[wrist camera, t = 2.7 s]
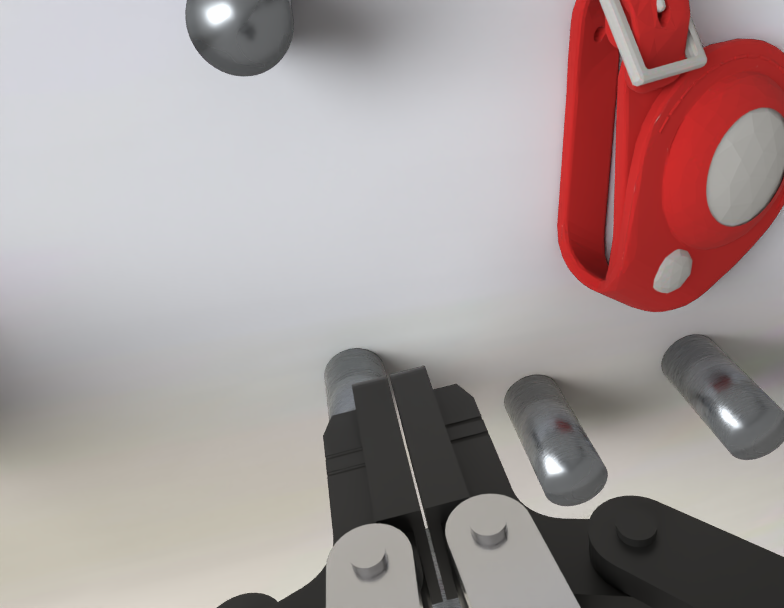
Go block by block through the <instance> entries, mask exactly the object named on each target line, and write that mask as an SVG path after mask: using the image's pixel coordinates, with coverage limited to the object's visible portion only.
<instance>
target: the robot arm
mask: <svg viewBox="0 0 784 608" xmlns="http://www.w3.org/2000/svg"><path fill="white" fill-rule="evenodd" d="M390 378H391V383H392V387H393V391H394V395H395V399H396V403H397V407H398V411H399V415H400V419H401V423H402V427H403V431H404V436H405V440H406V444H407V448H408V451H409V455H410V459H411V463H412V467H413V471H414V475H415V479H416V483H417V486H418V490H419V494H420V498H421V502H422V506H423V510H424V514H425V517H426V521H427V525H428V529H429V533H430V537H431V541H432V545H433V548H434V552H435V556H436V560H437V564H438V568H439V572H440V575H441V579H442V583H443V587H444V591H445V595H446V599H447V600H450V599H454V598H459V602H460V605H461V608H784V557H782V556H780V555H778V554H776V553H773V552H771V551H769V550H767V549H764V548H762V547H760V546H757V545H755V544H753V543H751V542H748V541H746V540H744V539H742V538H739V537H737V536H735V535H732V534H730V533H728V532H726V531H723V530H721V529H719V528H717V527H714V526H712V525H710V524H707V523H705V522H703V521H701V520H698V519H696V518H694V517H692V516H689V515H687V514H685V513H682V512H680V511H678V510H676V509H673V508H671V507H669V506H667V505H664V504H662V503H660V502H658V501H655V500H652V499H649V498H645V497H641V496H621V497H616V498H613V499H610V500H608V501H606V502H604V503H602V504H601V505H600V506H598V507H597V508H596V510H595V511H594V512H593V513H592V515H591V517H590V519H562V518H553V517H548V516H545V515H542V514H539V513H537V512H535V511H533V510H531V509H529V508H528V507H526V506H525V505H524V504H523V503H522V502H520V500H519V499H518V498H517V497H516V495H515V494H514V492H513V490H512V487H511V485H510V483H509V480H508V478H507V476H506V473H505V471H504V469H503V466H502V464H501V461H500V459H499V457H498V454H497V452H496V450H495V447H494V445H493V443H492V440H491V438H490V435H489V434H488V431H487V428H486V426H485V424H484V421H483V420H482V417H481V414H480V412H479V409H478V407H477V405H476V402H475V400H474V398H473V397H472V396H471V395H470V394H469V393H467V392H466V391H465V390H464V389H462V388H461V387H460V386H458V385H457V384H454V385H450V386H446V387H442V388H438V389H434V390H433V389H432V386H431V383H430V380H429V377H428V374H427V371H426V369H425V366H421V367H417V368H413V369H409V370H405V371H401V372H397V373H393V374H390ZM352 390H353V396H354V402H355V408H356V410H352V411H348V412H345V413H341V414H337V415H333V416H331V419H330V421H329V423H328V426H327V428H326V431H325V433H324V435H323V439H324V449H325V457H326V469H327V475H328V477H327V479H328V488H329V498H330V508H331V518H332V528H333V548H332V549H331V551H330V553H329V556H328V559H327V564H326V565H325V567H324V568H323V570H322V571H321V572H320V573H319V574H318V576H317V577H316V578H314V579H313V580H312V581H311V582H310V583H309V584H307V585H306V586H304V587H303V588H301V589H299V590H298V591H296V592H294V593H293V594H291V595H289V596H288V597H286V598H284V599H283V600H281V601H279V602H277V601H276V600H275V599H274V598H272V597H270V596H268V595H265V594H261V593H247V594H242V595H239V596H236V597H233V598H231V599H229V600H227V601H226V602H224V603H223V604H221V605H220V606H218V607H217V608H433V606H432V605H433V604H436V603H440V602H443V599H442V595H441V591H440V587H439V583H438V578H437V574H436V570H435V566H434V562H433V558H432V554H431V550H430V546H429V542H428V538H427V534H426V530H425V526H424V522H423V518H422V514H421V510H420V506H419V502H418V498H417V494H416V490H415V486H414V482H413V478H412V474H411V470H410V466H409V462H408V458H407V455H406V451H405V447H404V443H403V439H402V435H401V431H400V427H399V423H398V419H397V415H396V411H395V407H394V403H393V399H392V395H391V391H390V387H389V383H388V379H387V376H382V377H378V378H374V379H370V380H367V381H363V382H359V383H355V384H352Z"/></svg>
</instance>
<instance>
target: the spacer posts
mask: <svg viewBox="0 0 784 608" xmlns="http://www.w3.org/2000/svg"><path fill="white" fill-rule="evenodd" d="M185 14H186V25H187V30H188V33H189V36H190V39H191V41H192V43H193V45H194V46H195V48H196V50H197V51H198V52H199V54H200V55H201V56H202V57H203V58H204V59H205V60H206V61H207V62H208V63H209V64H211V65H212V66H213V67H215V68H217V69H218V70H220V71H222V72H225V73H228V74H231V75H235V76H253V75H258V74H261V73H263V72H265V71H268V70H269V69H271V68H272V67H274V66H275V65H276V64H277V63H278V62H279V61H280V60H281V59H282V58H283V56H284V55H285V53H286V52H287V50H288V48H289V46H290V43H291V40H292V35H293V14H292V7H291V1H290V0H187V3H186V11H185ZM662 371H663V373H664V374H665V376H666V377H667V378H668V379H669V381H670V382H671V383H672V384H673V385H674V386H675V388H676V389H677V390H678V391H679V392H680V394H681V395H682V396H683V397H684V398H685V400H686V401H687V402H688V403H689V404H690V405H691V407H692V408H693V409H694V410H695V411H696V413H697V414H698V415H699V416H700V417H701V419H702V420H703V421H704V422H705V423H706V424H707V426H708V427H709V428H710V429H711V430H712V432H713V433H714V434H715V435H716V436H717V437H718V439H719V440H720V441H721V442H722V443H723V445H724V446H725V447H726V448H727V449H728V451H729V452H730V453H731V454H732V455H733V456H734V457H736V458H738V459H743V460H751V459H757V458H760V457H763V456H765V455H767V454H769V453H771V452H772V451H774V450H775V449H776V448H778V447H779V446H780V445H781V444H782V443H783V442H784V411H783V410H782V409H781V408H780V407H779V406H778V405H777V404H776V403H775V402H774V401H773V400H772V399H771V398H770V397H769V396H768V395H767V394H766V393H765V392H764V391H763V390H762V389H760V388H759V387H758V386H757V385H756V384H755V383H754V382H753V381H752V380H751V379H750V378H749V377H748V376H747V375H746V374H745V373H744V372H743V371H742V370H741V369H740V368H739V367H738V366H737V365H736V364H735V363H734V362H733V361H732V360H731V359H730V358H729V357H728V356H727V355H726V354H725V353H724V352H723V351H722V350H721V349H720V348H719V347H718V346H717V345H716V344H715V343H714V342H713V341H712V340H710V339H709V338H708V337H706V336H703V335H690V336H687V337H684V338H682V339H680V340H678V341H677V342H675V343H674V344H673V345H672V346H671V347H670V348H669V349H668V350H667V351H666V353H665V355H664V357H663V359H662ZM382 376H386V373H385V369H384V365H383V363H382V361H381V359H380V358H379V357H378V356H377V355H376V354H374V353H372V352H370V351H368V350H364V349H349V350H345V351H343V352H340V353H339V354H337V355H336V356H334V357H333V358H332V359H331V360H330V361H329V363H328V364H327V366H326V369H325V386H326V396H327V405H328V415H329V421H330V419H331V416H333V415H337V414H341V413H345V412H348V411H352V410H356V408H355V402H354V396H353V390H352V384H355V383H359V382H363V381H367V380H370V379H374V378H378V377H382ZM504 405H505V408H506V411H507V413H508V415H509V417H510V419H511V421H512V424H513V426H514V428H515V430H516V432H517V434H518V437H519V439H520V441H521V443H522V445H523V447H524V450H525V452H526V454H527V456H528V458H529V460H530V463H531V465H532V467H533V469H534V471H535V473H536V476H537V478H538V480H539V482H540V484H541V486H542V489H543V491H544V493H545V495H546V497H547V498H548V499H549V500H550V501H551V502H552V503H554V504H557V505H561V506H574V505H578V504H581V503H584V502H586V501H588V500H590V499H592V498H593V497H595V496H596V495H597V494H598V493H599V492H600V491H601V490H602V489H603V487H604V485H605V484H606V481H607V477H608V473H607V469H606V467H605V465H604V464H603V462H602V460H601V458H600V457H599V455H598V453H597V452H596V450H595V448H594V447H593V445H592V443H591V442H590V440H589V438H588V437H587V435H586V433H585V432H584V430H583V428H582V427H581V425H580V423H579V421H578V420H577V418H576V416H575V415H574V413H573V411H572V410H571V408H570V406H569V405H568V403H567V401H566V400H565V398H564V396H563V395H562V393H561V391H560V390H559V388H558V386H557V384H556V383H555V382H554V381H553V380H552V379H551V378H549V377H546V376H543V375H532V376H528V377H525V378H522V379H520V380H519V381H517V382H516V383H515V384H513V385H512V386H511V387H510V389H509V390H508V392H507V394H506V396H505V401H504ZM425 530H426V534H427V538H428V542H429V546H430V550H431V554H432V558H433V562H434V566H435V570H436V574H437V578H438V583H439V587H440V591H441V595H442V599H443V602H440V603H436V604H433V605H432V606H433V608H461V605H460V602H459V598H454V599H450V600H447V599H446V595H445V591H444V587H443V583H442V579H441V575H440V572H439V568H438V564H437V560H436V556H435V552H434V548H433V545H432V541H431V537H430V533H429V529H425Z"/></svg>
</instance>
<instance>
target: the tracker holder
mask: <svg viewBox="0 0 784 608" xmlns="http://www.w3.org/2000/svg"><path fill="white" fill-rule="evenodd" d="M619 52H620V54H621V57H622V63H621V67H620V71H619V75H618V67H619ZM685 54H686V57H685ZM617 86H618V88H617ZM616 95H617V119H616V155H615V192H614V229H613V241H612V247H611V254H610V260H609V267H608V264H607V262H606V257H605V247H604V233H605V222H606V210H607V198H608V187H609V175H610V164H611V152H612V140H613V129H614V117H615V106H616ZM783 205H784V53H783V52H782V51H781V50H779V49H778V48H777V47H775V46H773V45H771V44H769V43H767V42H764V41H761V40H755V39H734V40H730V41H725V42H720V43H715V44H711V45H709V46H706V47H704V48H703V47H702V44H701V42H700V39H699V37H698V34H697V32H696V29H695V26H694V24H693V21H692V19H691V16H690V7H689V0H576V3H575V6H574V9H573V12H572V19H571V28H570V42H569V55H568V73H567V95H566V109H565V123H564V138H563V152H562V166H561V181H560V195H559V209H558V223H557V229H558V242H559V246H560V250H561V253H562V257H563V259H564V261H565V263H566V265H567V267H568V268H569V270H570V271H571V272H572V274H573V275H574V276H575V277H576V278H577V279H578V280H579V281H580V282H581V283H583V284H584V285H585V286H587V287H588V288H590V289H592V290H594V291H596V292H598V293H601V294H603V295H605V296H607V297H610V298H612V299H614V300H617V301H619V302H621V303H624V304H626V305H628V306H630V307H634V308H637V309H641V310H644V311H650V312H663V311H668V310H673V309H676V308H679V307H682V306H685V305H687V304H689V303H691V302H692V301H694V300H696V299H697V298H699V297H700V296H701V295H702V294H704V293H705V292H706V291H707V290H708V289H709V288H710V287H712V286H713V285H714V284H715V283H716V282H717V281H718V280H719V279H720V278H721V277H722V276H724V275H725V274H726V273H727V272H728V271H729V270H730V269H731V268H732V267H733V266H734V265H735V264H736V263H737V262H738V261H739V260H740V259H741V258H742V257H743V256H744V255H745V254H746V253H747V252H748V251H749V250H750V249H751V247H752V246H753V245H754V244H755V243H756V242H757V241H758V240H759V238H760V237H761V236H762V235H763V234H764V232H765V231H766V230H767V229H768V228H769V226H770V225H771V224H772V222H773V221H774V219H775V218H776V217H777V215H778V213H779V212H780V210H781V209H782V207H783Z"/></svg>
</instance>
